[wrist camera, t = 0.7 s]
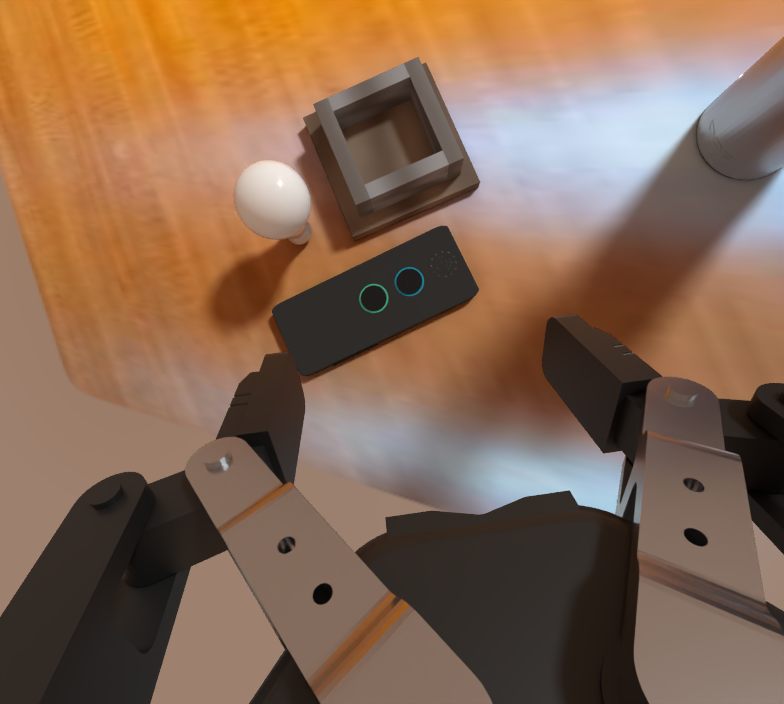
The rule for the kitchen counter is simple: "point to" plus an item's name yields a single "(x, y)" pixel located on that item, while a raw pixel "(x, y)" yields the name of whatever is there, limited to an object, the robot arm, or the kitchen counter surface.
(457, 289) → the smart home device
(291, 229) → the lightbulb
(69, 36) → the kitchen counter surface
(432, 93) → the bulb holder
